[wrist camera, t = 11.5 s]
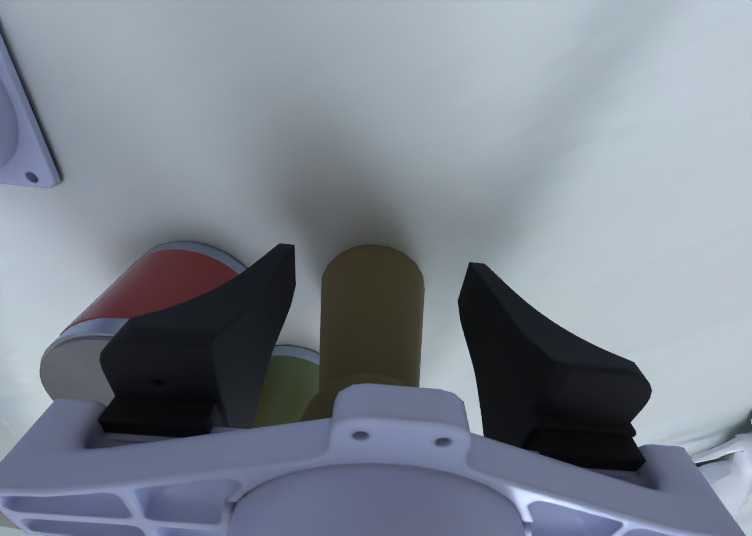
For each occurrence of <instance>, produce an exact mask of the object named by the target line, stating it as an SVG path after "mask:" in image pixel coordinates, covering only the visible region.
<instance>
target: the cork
mask: <svg viewBox="0 0 752 536" xmlns="http://www.w3.org/2000/svg"><path fill="white" fill-rule="evenodd" d="M424 291H425V288H424V281H423V275H422V274H421V272H420V270H419V269H418V267H417V265H416V263H414V262H413V261H412V260H411V259H410V258H408V257H407V256H406V255H405V254H404V253H401V252H399V251H396V250H394V249H392V248H389V247H384V246H375V245H367V246H361V247H355V248H352V249H350V250H348V251H345V252H343V253H341V254H339V255H338V256H337V257H336V258H335V259H334V260H333V261H332V262H331V263H330V264H328V266H327V268H326V270H325V272H324V274H323V276H322V288H321V325H320V363H319V392H318V393H317V394H316V395H315V396H313V397H312V399H311V400H310V402H309V404H308V406H307V407H306V409H305V411H304V413H303V415H302V417H301V419H300V421H299V422H304V421H312V420H319V419H327V418H332V415H333V407H334V401H335V399H336V397H337V395H338V393H339V392H340V391H342V390H344V389H346V388H348V387H350V386H352V385H354V384H366V383H371V384H383V385H395V386H407V387H419V379H420V361H421V344H422V326H423V309H424Z"/></svg>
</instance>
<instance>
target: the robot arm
mask: <svg viewBox="0 0 752 536" xmlns="http://www.w3.org/2000/svg"><path fill="white" fill-rule="evenodd" d="M33 173H34V174H35V175H36V176H37V177H38V178H36V177H35V176H34V175H33ZM0 183H2V184H12V185H22V186H32V187H42V188H53V187H55V186H57V185H58V184H59V183H60V177H59V175H58V172H57V170H56V167H55V165H54V162H53V160H52V158H51V155H50V153H49V150H48V148H47V145H46V143H45V141H44V138H43V136H42V133H41V131H40V128H39V126H38V124H37V121H36V119H35V116H34V114H33V111H32V109H31V107H30V104H29V102H28V99H27V97H26V94H25V92H24V90H23V87H22V85H21V82H20V80H19V77H18V75H17V73H16V70H15V68H14V65H13V63H12V60H11V58H10V56H9V53H8V51H7V48H6V46H5V43H4V41H3V39H2V36H1V34H0ZM295 286H296V280H295V245H291V244H281V243H279V244H278V245H277V246H275V247H274V248H273V249H272V250H270V251H269V252H268V253H267V254H266V255H264V256H263V257H262V258H261V259H259V260H258V261H257V262H255V263H254V264H253V265H252V266H250V267H249V268H247V269H246V270H244V271H243V272H242V273H240V274H239V275H237V276H236V277H234V278H233V279H231V280H229V281H228V282H226V283H224V284H222V285H220V286H219V287H217V288H215V289H213V290H211V291H209V292H206V293H204V294H202V295H200V296H197V297H195V298H193V299H191V300H188V301H185V302H183V303H180V304H177V305H174V306H171V307H168V308H165V309H162V310H159V311H155V312H151V313H148V314H144V315H140V316H136V317H132V318H130V319H129V320H128V321H127V322H126V323H125V324H124V325H123V326H122V327H121V328H120V330H119V331H118V332H117V333H116V334H115V335H114V337H113V338H112V339H111V340H110V341H109V343H108V344H107V345H106V346H105V347H104V349H103V350H102V351H101V353H100V358H99V362H100V365H101V368H102V371H103V373H104V375H105V377H106V379H107V381H108V383H109V385H110V387H111V389H112V391H113V393H114V395H115V397H114V398H113V400H112V401H111V402H110V404H109V405H108V406H106V405H104V404H102V403H100V402H96V401H88V400H76V399H63V398H60V399H56V400H55V401H54V402H53V403H52V404H51V405H50V406H49V408H48V409H47V410H46V411H45V412H44V413H43V414H42V416H41V417H40V418H39V419H38V420H37V421H36V422H35V424H34V425H33V426H32V427H31V428H30V429H29V430H28V432H27V433H26V434H25V435H24V436H23V437H22V438H21V440H20V441H19V442H18V443H17V444H16V445H15V446H14V448H13V449H12V450H11V451H10V452H9V454H7V456H6V457H5V458H4V459H3V460H2V461H1V463H0V511H1V512H2V513H3V514H4V515H5V516H7V517H8V518H9V519H10V520H11V521H12V522H13V523H14V524H15V525H17V526H18V527H19V528H20V529H21V530H22V531H23V532H24V533H26V534H36V535H48V536H746V535H745V534H744V532H743V531H742V530H741V528H740V527H739V525H738V524H737V523H736V521H735V520H734V518H733V517H732V515H731V514H730V513H729V511H728V510H727V508H726V507H725V506H724V504H723V503H722V501H721V500H720V499H719V497H718V496H717V494H716V493H715V491H714V490H713V489H712V487H711V486H710V484H709V483H708V482H707V480H706V479H705V477H704V476H703V474H702V473H701V472H700V470H699V469H698V467H697V466H696V465H695V463H694V462H693V460H692V459H691V457H690V456H689V455H688V453H687V452H686V450H685V449H684V448H682V447H678V446H666V445H653V444H649V445H643V446H640V447H637V445H636V443H635V442H634V440H633V438H632V437H634V436H635V435H636V431H635V429H634V428H633V426H632V424H631V423H630V422H631V421H632V420H633V419H634V418H635V417H636V416H637V414H638V413H639V412H640V411H641V410H642V409H643V408H644V406H645V405H646V404H647V402H648V400H649V399H650V396H651V392H652V389H651V386H650V383H649V382H648V380H647V379H646V378H645V376H644V375H643V374H642V372H641V371H640V370H639V368H638V367H637V366H636V364H635V363H634V362H632V361H630V360H628V359H625V358H623V357H620V356H618V355H615V354H613V353H611V352H608V351H606V350H604V349H602V348H599V347H597V346H595V345H593V344H591V343H589V342H587V341H585V340H583V339H581V338H580V337H578V336H576V335H574V334H572V333H571V332H569V331H567V330H566V329H564V328H562V327H560V326H559V325H557V324H556V323H554V322H553V321H551V320H550V319H548V318H547V317H545V316H544V315H543V314H541V313H540V312H538V311H537V310H536V309H534V308H533V307H532V306H531V305H529V304H528V303H527V302H526V301H525V300H523V299H522V298H521V297H520V296H519V295H518V294H516V293H515V292H514V291H513V290H512V289H511V288H510V287H509V286H508V285H507V284H506V283H504V282H503V281H502V280H501V279H500V278H499V277H498V276H497V275H496V274H495V273H494V272H493V271H492V270H491V269H490V268H489V267H487V266H486V265H485V264H483V263H473V262H469V265H468V269H467V272H466V275H465V279H464V282H463V285H462V288H461V292H460V295H459V298H458V306H459V314H460V321H461V325H462V329H463V332H464V336H465V339H466V343H467V346H468V350H469V353H470V357H471V360H472V364H473V368H474V372H475V377H476V383H477V389H478V395H479V402H480V409H481V416H482V425H483V434H484V437H483V436H480V435H477V434H474V433H471V432H470V429H469V424H468V420H467V415H466V410H465V406H464V402H463V401H462V400H461V399H460V398H459V397H458V396H457V395H456V394H454V393H451V392H448V391H444V390H440V389H431V388H419V387H407V386H395V385H383V384H371V383H366V384H354V385H352V386H350V387H348V388H346V389H344V390H342V391H340V392H339V393H338V395H337V397H336V399H335V401H334V407H333V415H332V418H327V419H319V420H312V421H304V422H297V423H289V424H282V425H274V426H267V427H259V428H253V425H254V421H255V417H256V413H257V408H258V404H259V400H260V396H261V392H262V388H263V384H264V380H265V376H266V373H267V369H268V365H269V362H270V358H271V355H272V352H273V349H274V347H275V344H276V342H277V339H278V337H279V334H280V332H281V329H282V327H283V324H284V322H285V319H286V316H287V314H288V311H289V309H290V306H291V302H292V299H293V294H294V290H295Z"/></svg>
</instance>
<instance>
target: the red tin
mask: <svg viewBox="0 0 752 536" xmlns="http://www.w3.org/2000/svg"><path fill="white" fill-rule="evenodd" d="M244 270H246V268H245V267H244V266H243V265H242V264H241V263H240V262H238V261H237V260H236V259H234V258H233V257H231V256H230V255H228V254H226V253H224V252H222V251H220V250H218V249H216V248H213V247H210V246H207V245H204V244H199V243H194V242H171V243H166V244H162V245H159V246H157V247H155V248H153V249H151V250H150V251H148V252H147V253H146V254H145V255H144V256H143V257H141V258H140V259H138V260H137V261H136V262H135V263H134V264H133V265H132V266H131V267H130V268H128V269H127V270H126V271H125V272H124V273H123V274H122V275H121V276H120V277H119V278H118V279H117V280H116V281H115V282H114V283H113V284H112V285H111V286H110V287H109V288H108V289H106V290H105V291H104V292H103V293H102V294H101V295H100V296H99V297H98V298H97V299H96V300H95V301H94V302H93V303H92V304H91V305H90V306H89V307H88V308H87V309H86V310H85V311H83V312H82V313H81V314H80V315H79V316H78V317H77V318H76V319H75V320H74V321H73V322H72V323H71V324H70V325H69V326H68V327H67V328H66V329H65V330H64V331H63V332H62V333H61V334H60V336H59V337H58V338H57V339H56V340H55V341H54V342H53V343H52V344H51V345H50V346H49V347H48V348H47V349H46V350H45V352H44V354H43V356H42V359H41V364H40V378H41V382H42V384H43V386H44V388H45V390H46V392H47V393H48V394H49V396H50V397H51V398H52V399H53V400H54V401H55V400H56V399H60V398H63V399H76V400H88V401H96V402H100V403H102V404H104V405H106V406H108V405H109V404H110V402H111V401H112V400H113V398H114V397H115V395H114V393H113V391H112V389H111V387H110V385H109V383H108V381H107V379H106V377H105V375H104V373H103V371H102V368H101V365H100V362H99V358H100V353H101V351H102V350H103V349H104V347H105V346H106V345H107V344H108V343H109V341H110V340H111V339H112V338H113V337H114V335H115V334H116V333H117V332H118V331H119V330H120V328H121V327H122V326H123V325H124V324H125V323H126V322H127V321H128V320H129V319H130V318H132V317H136V316H140V315H144V314H148V313H151V312H155V311H159V310H162V309H165V308H168V307H171V306H174V305H177V304H180V303H183V302H185V301H188V300H191V299H193V298H195V297H197V296H200V295H202V294H204V293H206V292H209V291H211V290H213V289H215V288H217V287H219V286H220V285H222V284H224V283H226V282H228V281H229V280H231V279H233V278H234V277H236V276H237V275H239V274H240V273H242V272H243V271H244Z"/></svg>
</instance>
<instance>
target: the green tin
mask: <svg viewBox="0 0 752 536" xmlns="http://www.w3.org/2000/svg"><path fill="white" fill-rule="evenodd" d="M319 363H320V354H318V353H316V352H313V351H311V350H308V349H304V348H301V347H295V346H275V347H274V349H273V352H272V355H271V358H270V362H269V365H268V369H267V373H266V376H265V380H264V384H263V388H262V392H261V396H260V400H259V404H258V408H257V413H256V417H255V421H254V425H253V428H259V427H267V426H274V425H282V424H289V423H297V422H299V421H300V419H301V417H302V415H303V413H304V411H305V409H306V407H307V406H308V404H309V402H310V400H311V399H312V397H313V396H315V395H316V394H317V393H318V392H319Z"/></svg>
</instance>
